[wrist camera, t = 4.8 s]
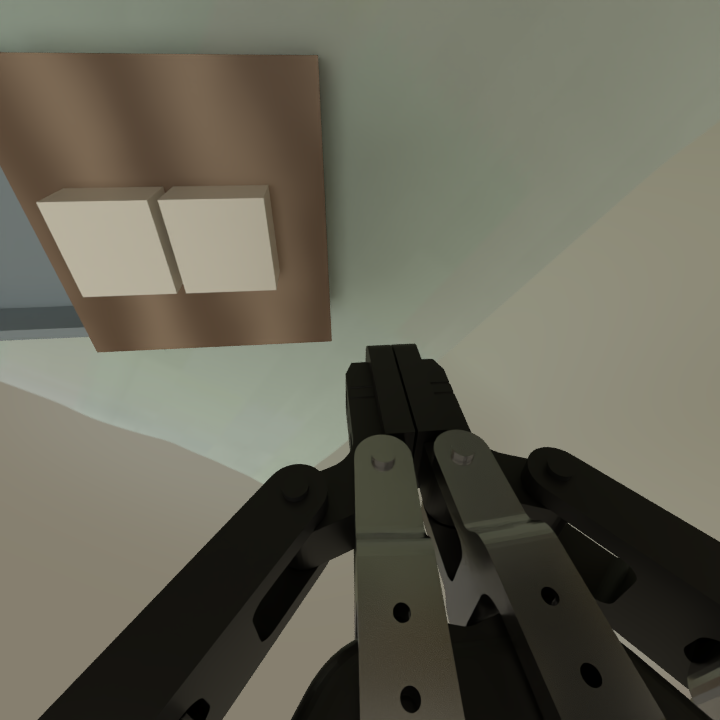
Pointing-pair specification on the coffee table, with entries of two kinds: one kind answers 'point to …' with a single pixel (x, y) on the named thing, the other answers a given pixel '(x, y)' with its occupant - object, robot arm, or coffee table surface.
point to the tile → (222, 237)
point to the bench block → (177, 176)
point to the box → (29, 280)
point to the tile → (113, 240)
